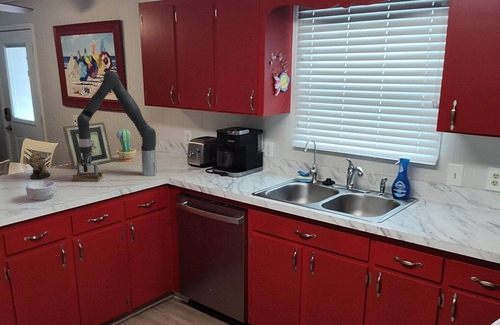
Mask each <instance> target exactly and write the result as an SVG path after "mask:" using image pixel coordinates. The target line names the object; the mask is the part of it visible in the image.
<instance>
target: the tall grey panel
mask: <svg viewBox="0 0 500 325" xmlns="http://www.w3.org/2000/svg"><path fill="white" fill-rule="evenodd" d="M87 170H88V172H84V169H83V166H82V165H81V163H78V164H77V168H76V171H77V172H76V174H77V173H78V175H98V172H99V170H98V164H97V163H87Z"/></svg>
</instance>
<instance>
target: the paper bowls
mask: <svg viewBox="0 0 500 325" xmlns="http://www.w3.org/2000/svg"><path fill="white" fill-rule="evenodd" d="M25 191H26V196H28V197H30V198H31V199H32V200H34V201H47V200H49V199H51V198H53V197H54V194H55V193H57V192H58V187H57V183H56V182H55V181H51V180H50V181H49V180H45V181H43V180H42V181H36V182H33V183H29V184H27V185H26V186H25Z"/></svg>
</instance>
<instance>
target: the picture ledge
mask: <svg viewBox="0 0 500 325" xmlns="http://www.w3.org/2000/svg"><path fill="white" fill-rule="evenodd" d="M103 178H104V177H103V171H98V175H78V173H77V172H76V174H72V182H73V183H79V182H80V183H83V182H84V183H88V182H89V183H90V182H91V183H93V182H94V183H97V182H98V183H99V182H100V181H101V180H102V179H103Z"/></svg>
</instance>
